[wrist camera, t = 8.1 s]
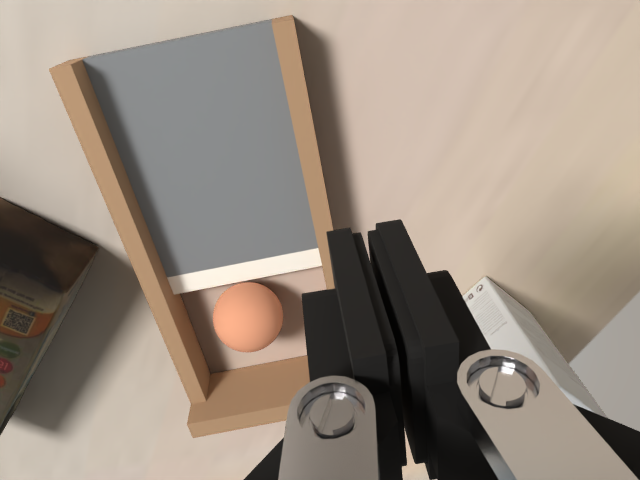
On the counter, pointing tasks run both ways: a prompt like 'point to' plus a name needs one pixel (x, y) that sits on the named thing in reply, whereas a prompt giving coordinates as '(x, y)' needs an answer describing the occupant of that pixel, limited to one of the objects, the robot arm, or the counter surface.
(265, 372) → the lane
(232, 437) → the counter surface
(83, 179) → the counter surface
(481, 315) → the skincare box
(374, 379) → the robot arm
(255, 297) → the ball
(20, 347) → the beverage carton
